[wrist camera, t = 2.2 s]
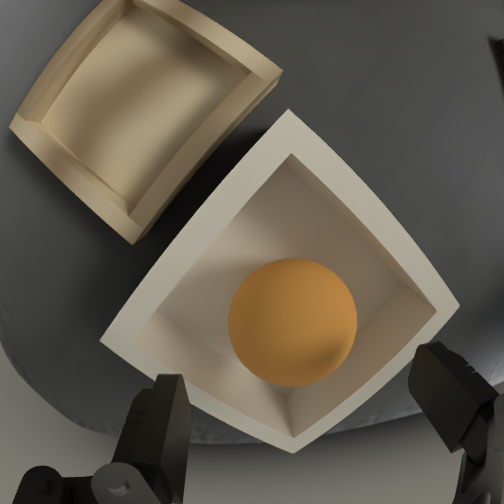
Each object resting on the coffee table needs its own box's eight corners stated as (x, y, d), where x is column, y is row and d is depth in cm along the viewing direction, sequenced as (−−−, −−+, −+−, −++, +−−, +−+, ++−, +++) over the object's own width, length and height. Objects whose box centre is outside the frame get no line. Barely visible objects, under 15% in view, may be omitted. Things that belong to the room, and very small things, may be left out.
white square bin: (416, 275, 18) (460, 306, 13) (283, 402, 20) (292, 453, 15) (273, 127, 15) (288, 109, 10) (130, 298, 17) (99, 340, 12)
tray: (276, 84, 14) (282, 70, 12) (146, 234, 16) (132, 245, 14) (140, -5, 12) (129, -24, 10) (32, 129, 14) (8, 126, 12)
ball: (355, 289, 17) (403, 343, 11) (284, 358, 18) (301, 429, 12) (281, 220, 15) (306, 252, 10) (207, 302, 16) (193, 368, 11)
